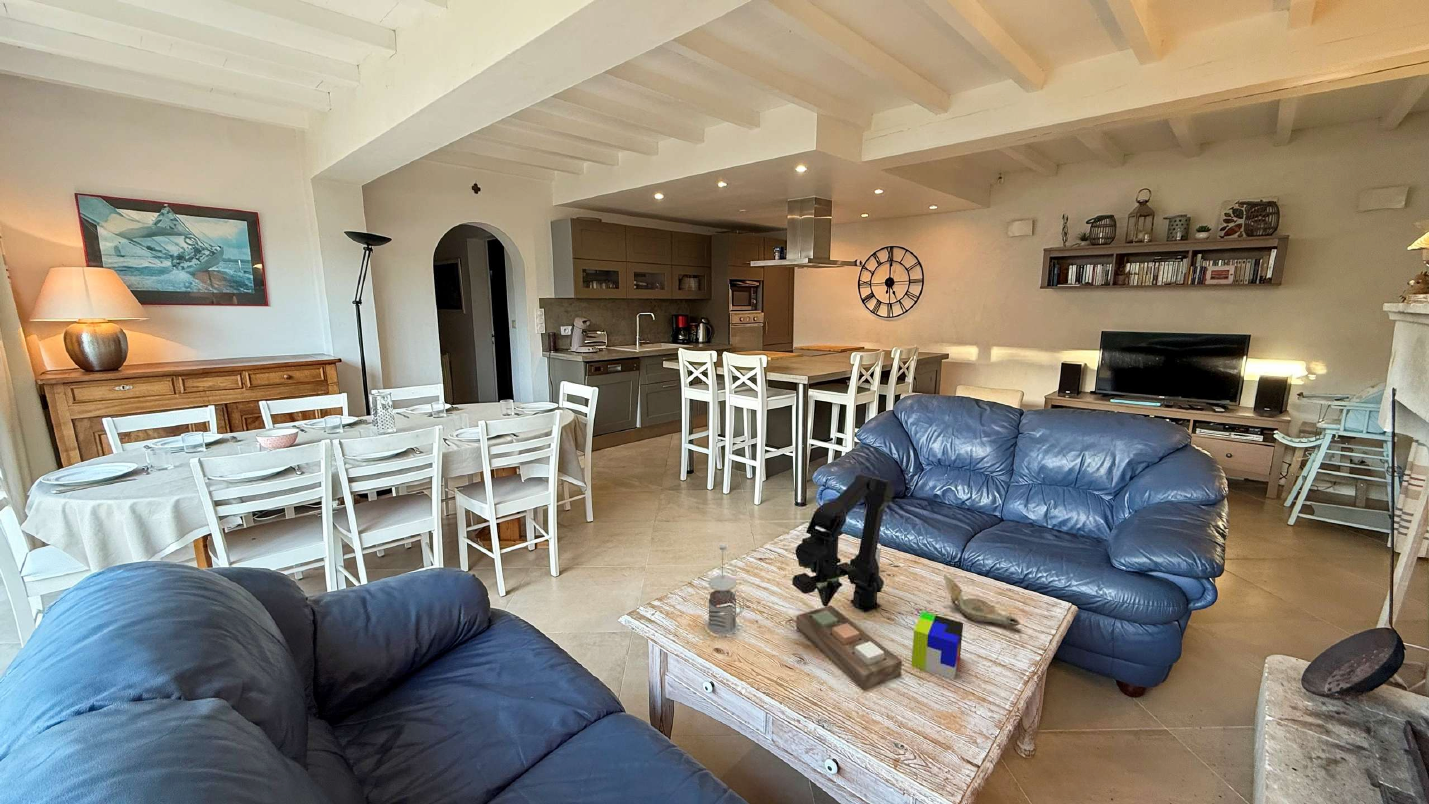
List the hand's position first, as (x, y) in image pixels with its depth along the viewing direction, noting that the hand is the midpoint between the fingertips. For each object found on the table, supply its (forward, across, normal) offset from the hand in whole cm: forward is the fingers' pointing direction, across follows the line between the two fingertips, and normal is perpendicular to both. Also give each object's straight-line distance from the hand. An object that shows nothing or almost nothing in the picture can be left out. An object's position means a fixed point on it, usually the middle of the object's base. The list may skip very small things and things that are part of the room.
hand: (824, 605), depth 153 cm
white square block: (+5, 0, +18) cm, 19 cm away
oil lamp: (+8, -45, +14) cm, 48 cm away
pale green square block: (+7, 0, 0) cm, 7 cm away
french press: (+8, +24, -14) cm, 29 cm away
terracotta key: (+5, 0, +9) cm, 10 cm away
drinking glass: (+8, -35, -21) cm, 42 cm away
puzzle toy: (+8, -18, +23) cm, 30 cm away
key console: (+8, 0, +9) cm, 12 cm away
